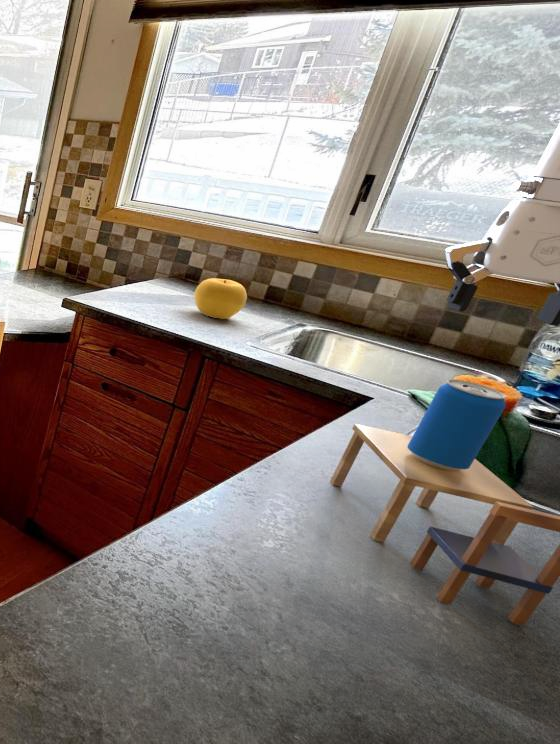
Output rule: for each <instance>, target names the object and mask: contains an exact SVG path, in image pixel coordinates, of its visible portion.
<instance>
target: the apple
mask: <svg viewBox="0 0 560 744" xmlns="http://www.w3.org/2000/svg"><path fill="white" fill-rule="evenodd" d="M247 299H248V294H247V290H246V288H245V286H243V285H242V284H241V283H239V282H237V281H234V280H231V279H224V278H216V277H215V278H214V277H212V278H207V279H204V280H202V281H201V282H200V283H199V284H198V285H197V287H196V288H195V291H194V302H195V305H196V308H197V310H198V311H199V312H200V313H201V314H203V315H204V316H206V315H207V316H206V317H208V316H211V317H214V318H220V319H219V320H228V319H230V318H232V317H233V316H235V315H236V314H237V313H239V312H240V311H241V310H242V309H243V308H244V306H245V305H246V302H247ZM214 318H213V319H214Z"/></svg>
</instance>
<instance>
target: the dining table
mask: <svg viewBox="0 0 560 744" xmlns="http://www.w3.org/2000/svg"><path fill="white" fill-rule="evenodd" d="M351 429H352V430H353V431H354V432H353V434H352V436H351V438H350V440H349V441H348V444H347V446H346V448H345V451H344V452H343V454H342V456H341V458H340V460H339V462H338V464H337V466H336V468H335V470H334V472H333V474H332V476H331V478H330V480H329V483H330V484H331V485H332V486H335V487H340V488H341V487H343V484H344V482H345V481H346V479H347V477H348V474H349V472H350V471H351V468H352V466H353V464H354V463H355V461H356V458H357V457H358V455H359V453H360V451H361V449H362V447H363V445H364V443H365V444H366V445H367V446H368V447H369V448H370V450H372V451H373V453H374V454H375V455H376V456H378V458H379V459H380V460H381V461H382V462H383V464H384V465H386V467H387V468H389V470H390V471H391V472H392V473H393V474H394V476H396V477H397V479H399V481H398V483H397V485H396V487H395V489H394V490H393V491H392V494H391V496H390V498H389V500H388V501H387V504H386V505H385V507H384V509H383V511H382V513H381V514H380V516H379V518H378V519H377V522H376V523H375V525H374V527H373V528H372V530H371V532H370V534H369V536H370V537H371V539H372V540H373V541H376V542H380V543H385V541H386V539H387V538H388V536H389V534H390V532H391V531H392V529H393V527H394V526H395V523H396V522H397V520H398V518H399V517H400V514H401V513H402V511H403V509H404V508H405V506H406V504H407V503H408V501H409V499H410V497H411V496H412V493H413V491H414V490H415V488H416V487H417V488H422V490H421V492H420V493H419V495H418V497H417V499H416V501H415V503H416V504H417V506H418V507H421V508H425V509H430V507H431V506H432V504H433V502H434V500H435V499H436V497H437V495H438V493H444V494H446V495H447V494H448V495H451V496H455V497H460V498H463V499H469V500H472V501H477V502H480V503H481V502H482V503H485V504H489V505H492V506H493V505H494V504H495V502H496V501H497V502H502V503H506V504H510V505H514V506H519V507H523V508H527V509H531V510H534V506H533V505H532V504H531V503H530V502H529V501H527V500H526V499H525V498H523V497H522V496H521V495H520V494H519V493H517V491H515V490H514V489H513V488H511V487H510V486H509V485H508V484H506V482H504V481H503V480H501V478H500V477H498V476H497V475H495V474H494V473H493V472H492V471H491V470H490V469H488V468H487V467H486V466H484V465H483V464H482V463H481V462H480V461H478V460H477V459H476V458H475V459H474V461H473V463H472V464H471V466H470V468H468V469H460V470H457V471H451V470H445V469H441V468H438V467H435V466H432V465H429V464H427V463H424V462H422V461H420V460H419V459H417V458H415V457H414V456H413V455H412V452H411V451H410V450H409V449H408V448H407V446H408V444H409V442H410V440H411V439H412V437H413V435H410V434H406V433H405V434H404V433H400V432H396V431H391V430H386V429H381V428H377V427H372V426H367V425H362V424H358V423H354V424H353V426H352V428H351ZM518 523H519V522H515V521H511V520H507V519H506V521H505V522H504V524H503V525H502V527H501V528H500V530H499V531H498V533H497V535H496V536H495V538H494V539H493V541H492V542H494V543H498V544H501V545H505V544H506V542H507V540H508V539H509V537H510V536H511V534H512V533H513V531H514V529H515V528H516V526H517V525H518Z"/></svg>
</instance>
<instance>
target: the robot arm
mask: <svg viewBox="0 0 560 744" xmlns="http://www.w3.org/2000/svg"><path fill="white" fill-rule="evenodd" d="M547 144H548V145H547V147H546V148H545V150H544V152H543V154H542V155H541V158H540V160H539V161H538V163H537V165H536V167H535V169H534V171H533V173H532V175H531V176H529V177H528V178H527V180H516V181H515V182H514V183H513V184H512V187H511V189H512V191H513V192H518V193H519V199H512V200H511V201H510V202H509V203H508V205H507V206H506V207H504V209H503V210H502V211H501V213H499V215H498V217H496V219H495V221H494V222H493V223H492V225H491V226H490V227H489V229H488V230H487V232H486V233H485V235H484V237H483V238H482V239H481V240H477V241H472V242H467V243H463V244H458V245H453V246H450V247H447V248H445V250H444V253H445V259H446V262H447V263H446V267H447V269H448V270H449V271H450V273H451V274H452V277H453V279H455V282H454V284H453V286H452V288H451V290H450V292H449V294H448V295H447V297H446V301H447V303H446V306H447V307H448V308H450V309H453V310H455V311H457V312H462V313H463V312H466V311H467V309H468V308H469V305H470V304H471V302H472V300H473V298H474V296H475V294H476V292H477V290H478V287H479V286H478V284H475V283H477V282H479V281H480V280H482V279H484V278H486V277H489V276H491V275H493V274H494V275H497V276H502V277H508V278H514V279H521V280H530V281H536V282H544V283H550V284H554V286H555V287H556V290H557V292H552V293H550V294H549V295H548V297H547V299H546V301H545V302H544V304H543V306H542V308H541V310H540V311H539V313H538V314H537V316H536V319H537V320H539V321H540V322H542V323H545V324H547V325H549V326H553V327H559V326H560V122H559V123H558V125H557V127H556V129H555V131H554V133H553V134H552V137H551V138H550V141H549V143H547ZM471 254H474V255H473V257H472V260H471V264H470V265H467V266H466V265H465V263H464V257H465V256H467V255H471Z"/></svg>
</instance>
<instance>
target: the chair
mask: <svg viewBox="0 0 560 744" xmlns="http://www.w3.org/2000/svg"><path fill="white" fill-rule="evenodd" d="M506 519H507V520H511V521H515V522H518V523H520V524H524V525H527V526H531V527H532V526H533V527H536V528H541V529H545V530H549V531H553V532H557V533H560V515H556V514H553V513H547V512H543V511H539V510H536V509H532V510H531V509H527V508H523V507H519V506H514V505H510V504H506V503H502V502H497V501H496V502H495V504H494V505H493V504H492V507H491V509H490V510H489V514H488V515H487V517H486V518H485V520H484V522H483V523H482V525H481V527H480V528H479V530H478V531H477V533H476V535H475V536H474V537H473V536H471V535H466V534H462V533H457V532H454V531H450V530H446V529H442V528H438V527H434V526H429V527H428V529H427V530H426V533H427V534H426V535H425V537H424V539H423V540H422V542H421V544H420V545H419V547H418V549H417V550H416V552H415V554H414V555H413V557H412V559H411V560H410V562H409V565H410V566H411V567H412V568H413V569H416V570H419V571H423V570H424V569H425V567H426V565H427V564H428V562H429V560H430V558H431V557H432V555H433V554H434V552H435V551H436V549H437V547H439V548H440V550H442V551H443V553H444V554H445V555H446V556H447V557H448V558H449V559H450V561H452V563H453V564H454V565H455V567H454V568H453V570H452V572H451V573H450V575H449V576H448V578H447V580H446V582H445V583H444V584H443V586H442V587H441V589H440V591H439V592H438V593H437V596H436V598H437V600H438V601H439V603H441V604H445V605H448V606H451V605H452V603H453V602H454V600H455V599H456V597H457V595H458V594H459V592H460V590H461V589H462V588H463V586H464V585H465V583H466V581H467V580H468V578H469V577H470V575H471V574H473V575H477V578H476V579H475V583H476V584H477V585H478V586H479V587H480V588H484V589H488V590H490V588H491V587H492V585H493V584H494V582H495V581H499V582H502V583H506V584H510V585H514V586H517V587H521V588H525V589H526V591H524V594H523V595H522V596H521V598H520V599H519V601H518V602H517V603H516V604H515V606H514V608H513V610H511V612H510V614H509V615H508V616H507V619H508V620H509V621H510V622H511V623H512V624H514V625H518V626H521V627H524V626H525V624H526V623H527V622H528V621H529V620H530V618H531V616H532V615H533V613H534V612H535V610H536V609H537V608H538V606H539V605H540V604H541V602H542V601H543V599H544V598H545V596H546V595H548V594H550V593H551V592H552V590H553V588H554V585H555V584H556V583H557V581H558V580H559V578H560V544H558V546H557V547H556V549H555V550H554V552H553V553H552V555H551V556H550V558H549V559H548V560H547V562H546V563H545V565H544V566H543V567H542V569H541V571H540V572H539V573H538V572H537V571H536V570H535V569H534V568H533V567H532V566H531V565H530V564H529V563H528V562H526V560H524V559H523V557H521V556H520V555H519V554H518V553H517V552H516V551H515V550H514V549H513V548H512V547H511V546H510V545H506V544H504V545H501V544H498V543H494V542H492V541H493V539H494V538H495V536H496V535H497V533H498V531H499V530H500V528H501V527H502V525H503V524H504V522H505V521H506Z"/></svg>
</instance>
